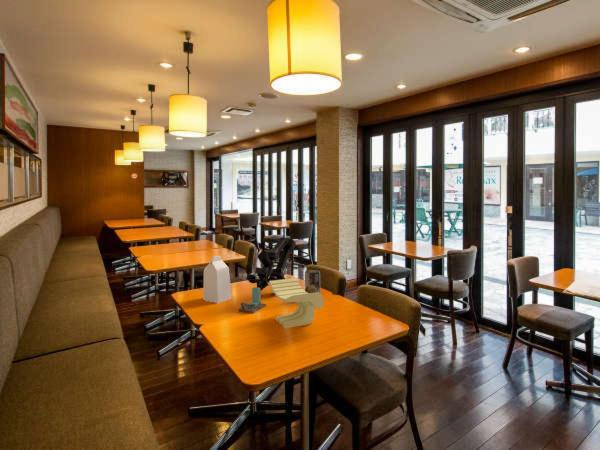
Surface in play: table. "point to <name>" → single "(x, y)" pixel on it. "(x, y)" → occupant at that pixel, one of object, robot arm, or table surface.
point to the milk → (216, 281)
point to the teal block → (255, 297)
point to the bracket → (252, 309)
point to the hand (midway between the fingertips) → (257, 292)
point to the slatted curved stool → (294, 293)
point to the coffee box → (312, 281)
